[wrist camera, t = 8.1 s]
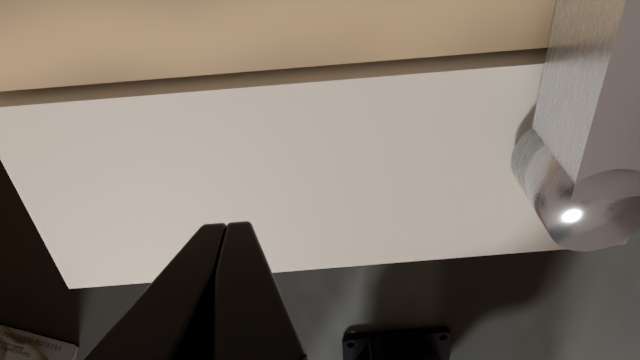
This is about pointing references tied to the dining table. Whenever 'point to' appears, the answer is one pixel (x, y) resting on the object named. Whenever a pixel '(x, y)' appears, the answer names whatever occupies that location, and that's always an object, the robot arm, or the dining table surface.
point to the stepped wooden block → (246, 35)
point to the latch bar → (586, 127)
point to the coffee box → (33, 346)
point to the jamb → (280, 164)
